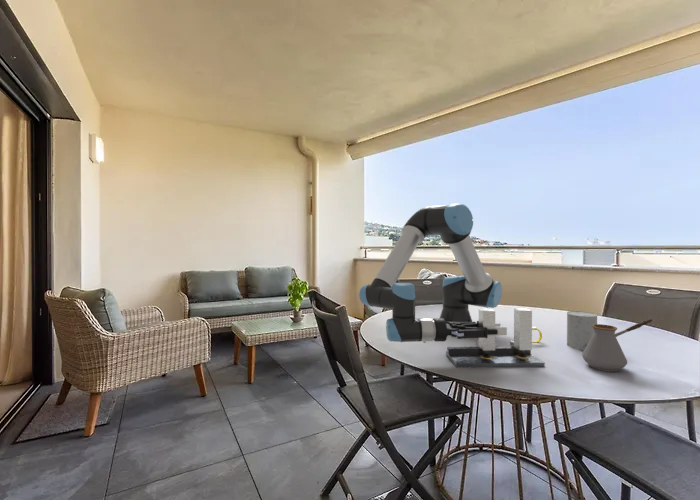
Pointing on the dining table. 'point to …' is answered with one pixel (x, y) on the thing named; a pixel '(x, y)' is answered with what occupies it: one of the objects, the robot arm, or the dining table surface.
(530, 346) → the fixed leg
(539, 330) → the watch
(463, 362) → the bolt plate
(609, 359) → the coffee pot
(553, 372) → the dining table surface
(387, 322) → the robot arm
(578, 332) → the grey concrete cylinder
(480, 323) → the block
